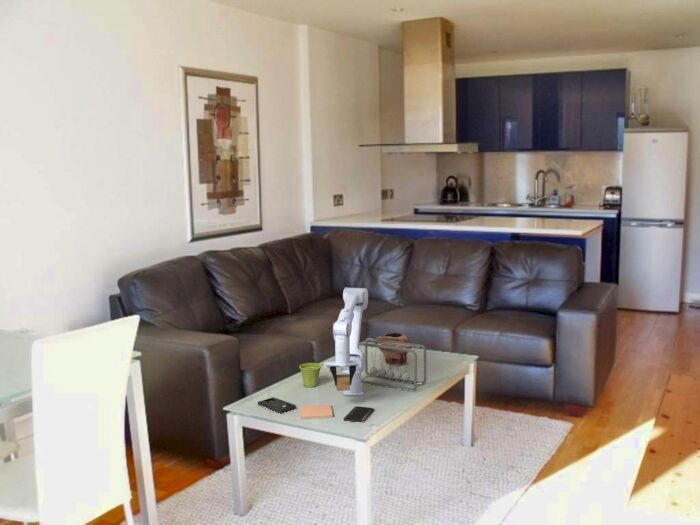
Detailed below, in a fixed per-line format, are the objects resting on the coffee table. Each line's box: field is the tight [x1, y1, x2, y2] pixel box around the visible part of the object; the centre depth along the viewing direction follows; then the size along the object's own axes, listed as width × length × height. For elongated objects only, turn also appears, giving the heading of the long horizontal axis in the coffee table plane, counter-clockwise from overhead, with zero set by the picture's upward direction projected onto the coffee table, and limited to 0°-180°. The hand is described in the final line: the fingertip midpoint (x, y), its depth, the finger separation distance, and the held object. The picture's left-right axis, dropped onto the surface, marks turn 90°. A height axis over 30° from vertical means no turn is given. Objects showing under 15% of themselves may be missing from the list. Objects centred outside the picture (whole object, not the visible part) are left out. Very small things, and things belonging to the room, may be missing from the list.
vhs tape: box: [257, 396, 297, 415], centre depth 285 cm, size 14×8×2 cm, turn 45°
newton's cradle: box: [356, 337, 427, 391], centre depth 313 cm, size 30×10×18 cm, turn 59°
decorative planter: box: [374, 332, 413, 366], centre depth 344 cm, size 20×12×14 cm, turn 62°
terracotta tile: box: [300, 404, 334, 420], centre depth 279 cm, size 12×12×1 cm
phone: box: [343, 405, 375, 423], centre depth 275 cm, size 8×1×15 cm
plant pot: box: [298, 362, 322, 388], centre depth 312 cm, size 9×9×9 cm
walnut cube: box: [335, 373, 350, 392], centre depth 285 cm, size 5×5×5 cm
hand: (343, 384), depth 285 cm, fingers closed on walnut cube, 5 cm apart
